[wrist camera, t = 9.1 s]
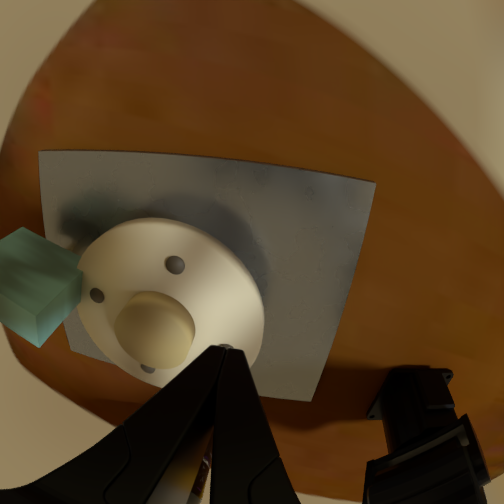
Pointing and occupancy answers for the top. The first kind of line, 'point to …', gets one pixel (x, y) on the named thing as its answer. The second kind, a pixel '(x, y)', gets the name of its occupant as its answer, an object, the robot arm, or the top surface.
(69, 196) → the base
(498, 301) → the top surface
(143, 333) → the flange
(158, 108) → the top surface
